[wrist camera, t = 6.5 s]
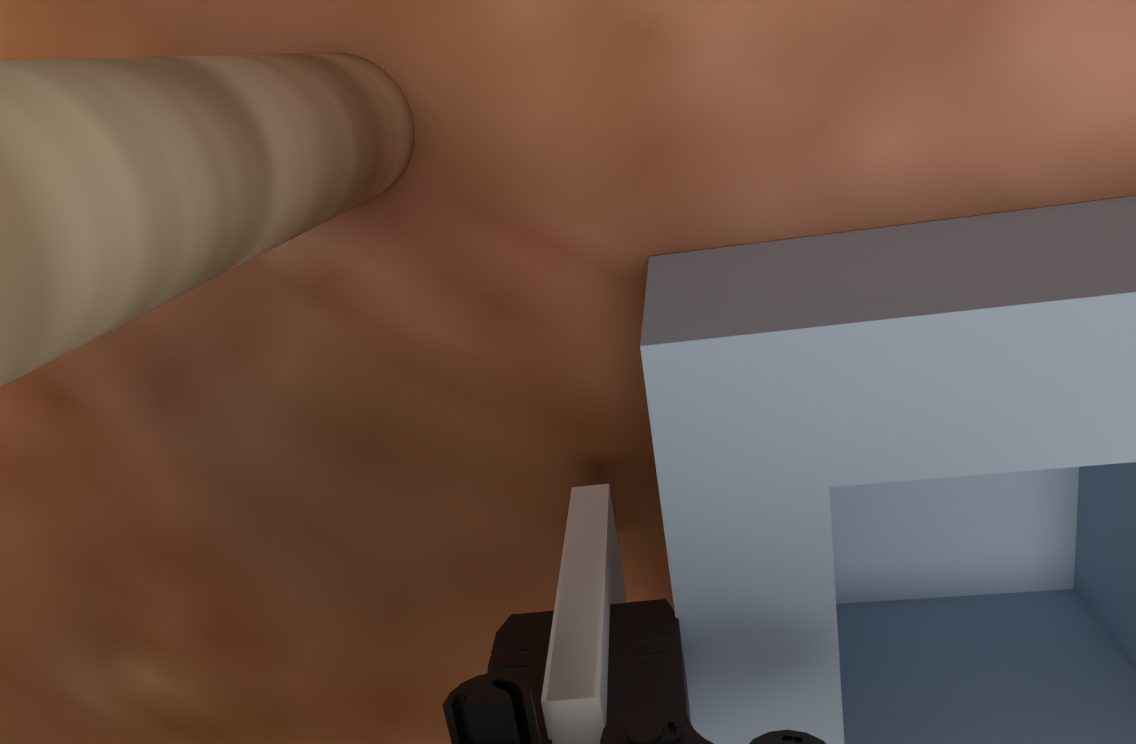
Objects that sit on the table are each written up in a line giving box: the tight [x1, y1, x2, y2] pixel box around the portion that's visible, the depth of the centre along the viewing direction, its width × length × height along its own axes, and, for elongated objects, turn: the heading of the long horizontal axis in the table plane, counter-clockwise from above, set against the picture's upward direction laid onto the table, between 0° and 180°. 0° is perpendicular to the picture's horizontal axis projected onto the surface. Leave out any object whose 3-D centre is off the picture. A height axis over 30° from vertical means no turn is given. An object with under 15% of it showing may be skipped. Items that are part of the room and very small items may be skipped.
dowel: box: [0, 53, 414, 387], centre depth 12 cm, size 3×3×14 cm
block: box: [640, 196, 1136, 744], centre depth 17 cm, size 11×11×6 cm
